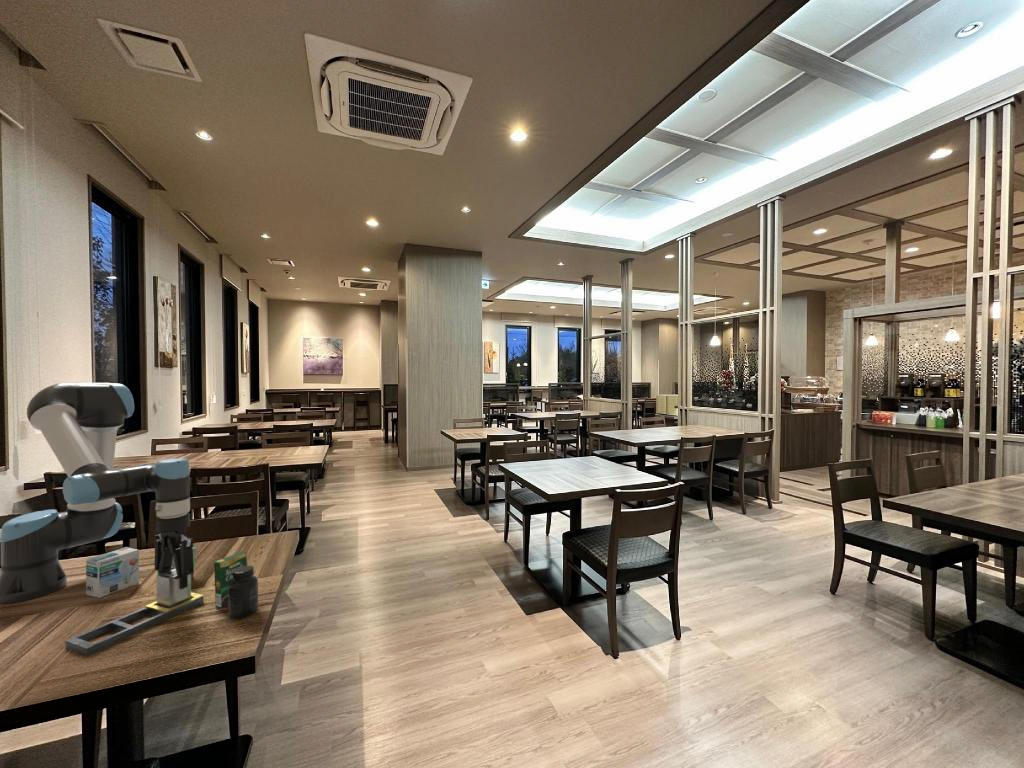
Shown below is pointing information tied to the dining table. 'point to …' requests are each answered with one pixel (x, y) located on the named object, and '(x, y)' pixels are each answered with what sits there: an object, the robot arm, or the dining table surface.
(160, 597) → the white rectangular block
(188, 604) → the rail
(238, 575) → the supplement bottle
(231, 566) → the coffee box
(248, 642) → the dining table surface
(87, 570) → the light bulb box
